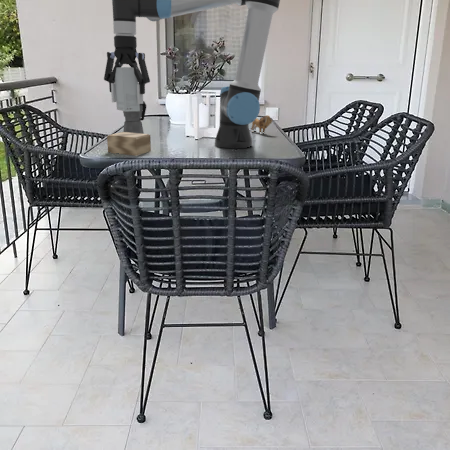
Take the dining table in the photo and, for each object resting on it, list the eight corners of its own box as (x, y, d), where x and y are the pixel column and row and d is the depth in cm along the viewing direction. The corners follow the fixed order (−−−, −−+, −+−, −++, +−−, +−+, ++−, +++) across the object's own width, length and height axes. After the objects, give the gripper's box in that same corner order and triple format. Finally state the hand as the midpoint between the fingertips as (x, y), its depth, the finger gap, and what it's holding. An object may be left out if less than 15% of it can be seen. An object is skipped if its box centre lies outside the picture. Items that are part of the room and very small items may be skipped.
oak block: (150, 151, 178) (150, 134, 176) (136, 155, 169) (136, 137, 167) (123, 148, 182) (122, 131, 180) (107, 152, 173) (107, 135, 171)
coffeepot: (115, 135, 210) (113, 93, 205) (132, 133, 217) (131, 92, 211) (137, 139, 201) (136, 95, 195) (154, 137, 208) (154, 94, 202)
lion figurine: (273, 135, 225) (274, 115, 222) (265, 135, 221) (266, 116, 218) (252, 131, 235) (253, 112, 232) (244, 131, 232) (245, 112, 229)
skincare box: (140, 111, 169) (139, 67, 164) (124, 112, 165) (122, 67, 161) (130, 109, 175) (129, 66, 170) (115, 109, 172) (113, 66, 167)
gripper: (159, 36, 162) (160, 104, 169) (103, 35, 169) (106, 100, 176) (148, 35, 155) (149, 105, 162) (90, 34, 162) (94, 101, 170)
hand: (127, 102), depth 169 cm, fingers closed on skincare box, 10 cm apart
